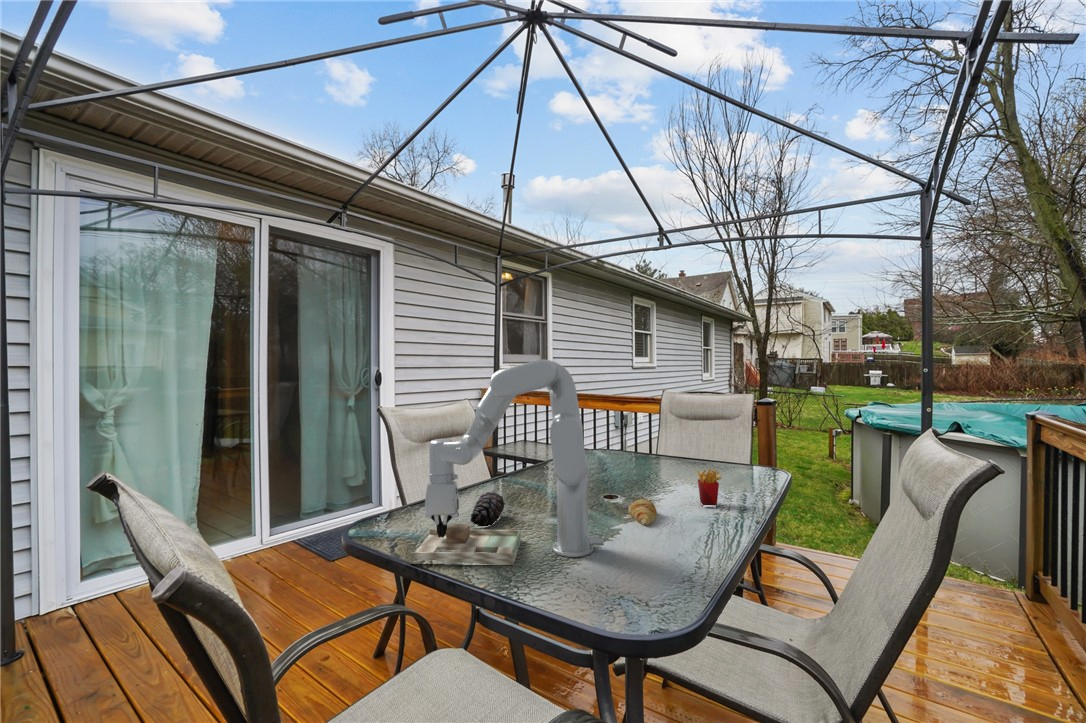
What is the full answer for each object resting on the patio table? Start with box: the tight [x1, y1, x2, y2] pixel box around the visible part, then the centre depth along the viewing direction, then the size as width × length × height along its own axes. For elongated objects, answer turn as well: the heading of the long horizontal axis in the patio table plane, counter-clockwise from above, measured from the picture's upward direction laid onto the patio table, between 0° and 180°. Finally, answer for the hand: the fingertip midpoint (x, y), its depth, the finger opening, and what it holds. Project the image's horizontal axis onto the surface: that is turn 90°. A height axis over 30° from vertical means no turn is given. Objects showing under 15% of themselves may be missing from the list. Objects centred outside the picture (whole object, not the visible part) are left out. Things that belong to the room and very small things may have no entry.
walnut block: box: [446, 523, 470, 544], centre depth 153 cm, size 6×6×4 cm
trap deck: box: [409, 528, 522, 566], centre depth 148 cm, size 30×19×4 cm, turn 86°
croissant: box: [627, 498, 658, 526], centre depth 178 cm, size 21×10×8 cm, turn 176°
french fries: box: [697, 468, 722, 506], centre depth 189 cm, size 9×8×15 cm
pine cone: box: [470, 491, 506, 526], centre depth 175 cm, size 10×18×10 cm, turn 172°
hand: (442, 535), depth 153 cm, fingers closed
